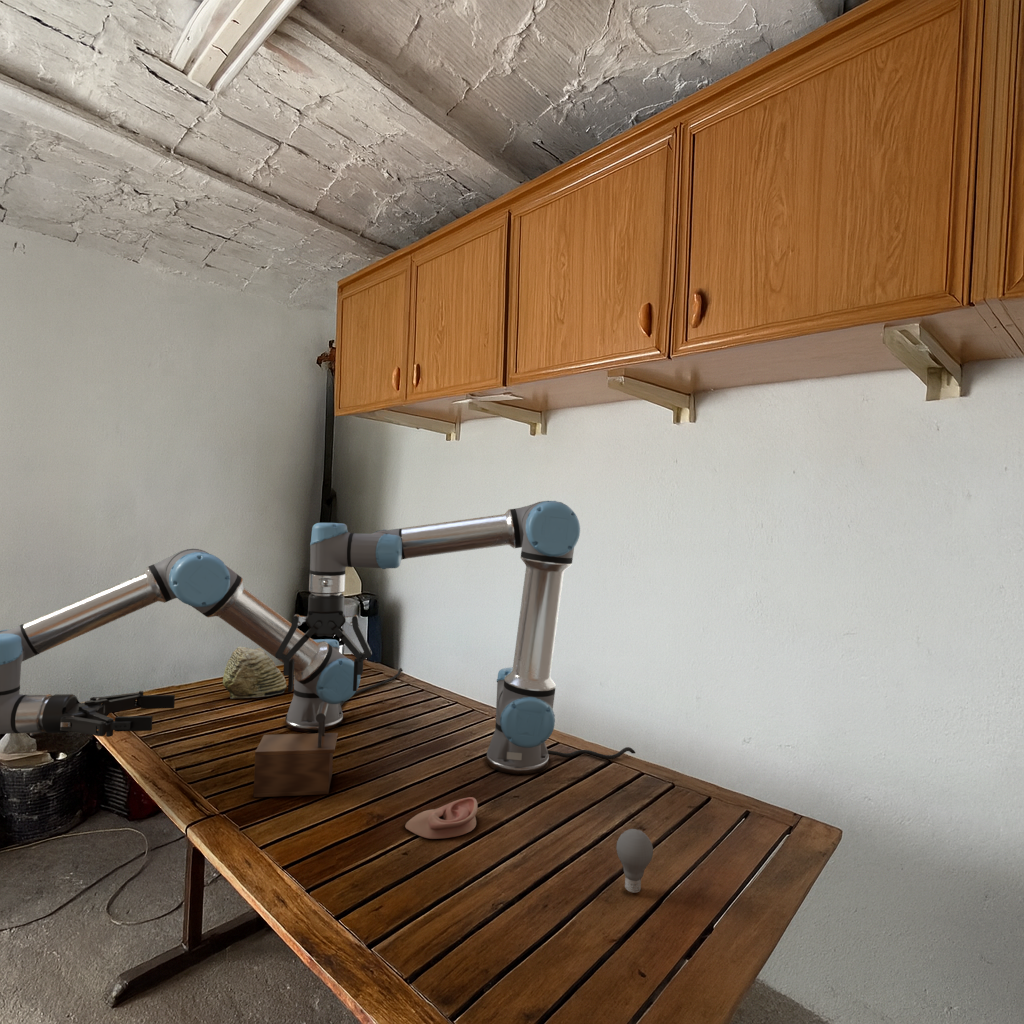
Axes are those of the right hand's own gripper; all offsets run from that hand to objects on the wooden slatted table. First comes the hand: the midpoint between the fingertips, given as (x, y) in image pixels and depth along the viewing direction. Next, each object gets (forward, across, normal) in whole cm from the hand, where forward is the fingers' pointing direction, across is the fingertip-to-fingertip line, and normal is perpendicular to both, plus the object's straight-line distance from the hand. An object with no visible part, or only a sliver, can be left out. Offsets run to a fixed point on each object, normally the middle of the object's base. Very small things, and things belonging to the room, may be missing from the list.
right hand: (323, 689), depth 139 cm
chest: (+21, -5, 0) cm, 22 cm away
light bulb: (+21, +55, -45) cm, 74 cm away
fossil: (+21, -26, +65) cm, 73 cm away
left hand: (+4, -32, 0) cm, 32 cm away
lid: (+12, -5, 0) cm, 13 cm away
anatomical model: (+21, +25, -20) cm, 39 cm away
